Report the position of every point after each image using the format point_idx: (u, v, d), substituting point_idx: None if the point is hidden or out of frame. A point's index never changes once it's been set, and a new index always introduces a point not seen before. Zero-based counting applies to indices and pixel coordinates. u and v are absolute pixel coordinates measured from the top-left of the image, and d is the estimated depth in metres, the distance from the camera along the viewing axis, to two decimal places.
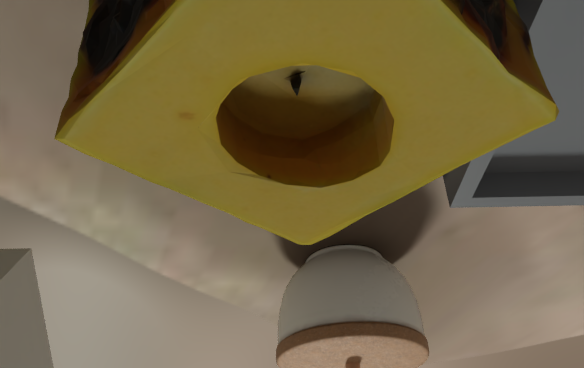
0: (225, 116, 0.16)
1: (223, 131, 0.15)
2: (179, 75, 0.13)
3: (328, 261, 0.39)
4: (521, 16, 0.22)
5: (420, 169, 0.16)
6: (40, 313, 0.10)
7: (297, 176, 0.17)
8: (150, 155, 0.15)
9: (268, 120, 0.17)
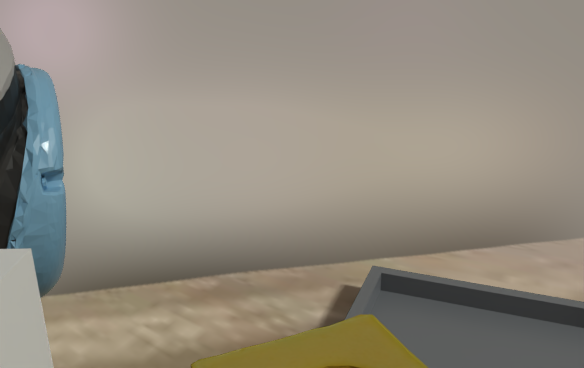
0: None
1: None
2: None
3: None
4: None
5: (401, 360, 0.25)
6: (40, 313, 0.10)
7: None
8: None
9: None
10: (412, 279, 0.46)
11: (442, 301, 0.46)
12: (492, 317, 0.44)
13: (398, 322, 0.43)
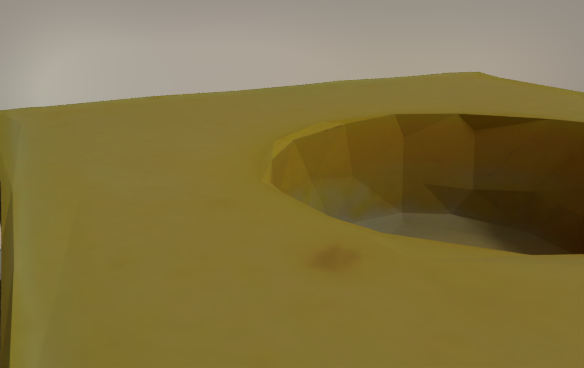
0: None
1: None
2: (167, 223, 0.04)
3: None
4: None
5: None
6: None
7: None
8: None
9: None
10: None
11: None
12: None
13: None
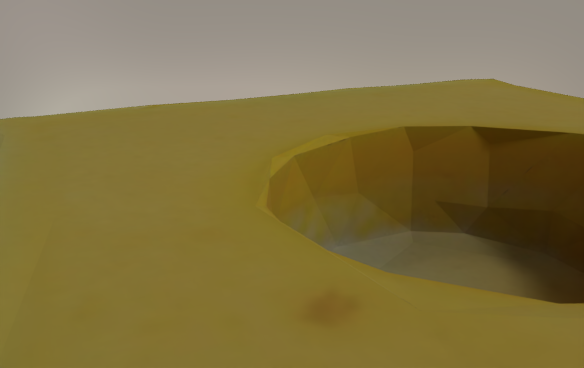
0: None
1: None
2: (143, 260, 0.04)
3: None
4: None
5: None
6: None
7: None
8: None
9: None
10: None
11: None
12: None
13: None
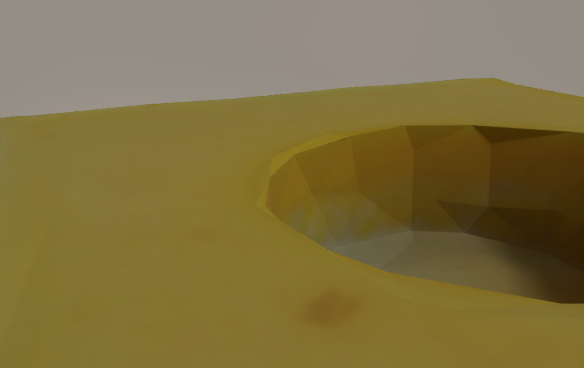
0: None
1: None
2: (141, 260, 0.04)
3: None
4: None
5: None
6: None
7: None
8: None
9: None
10: None
11: None
12: None
13: None
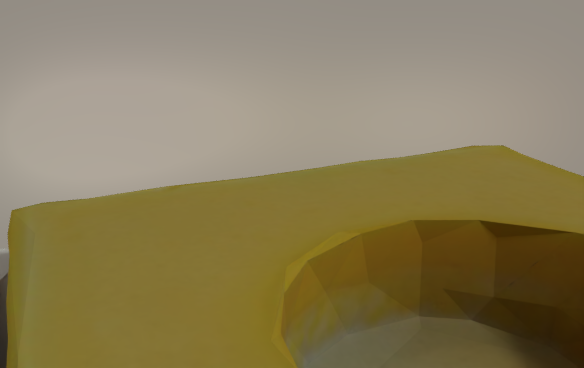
0: None
1: None
2: None
3: None
4: None
5: None
6: None
7: None
8: None
9: None
10: None
11: None
12: None
13: None
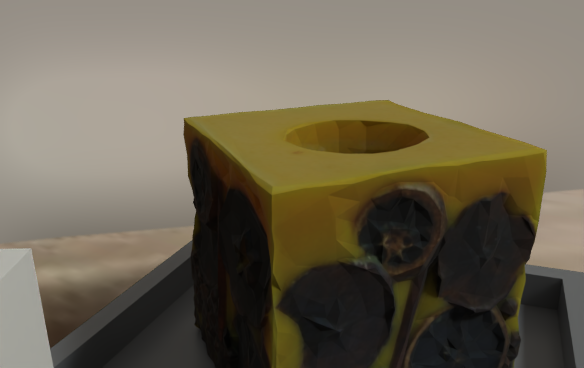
0: None
1: None
2: (258, 147, 0.18)
3: None
4: None
5: (419, 117, 0.22)
6: (40, 313, 0.10)
7: None
8: (330, 168, 0.16)
9: None
10: None
11: None
12: None
13: None
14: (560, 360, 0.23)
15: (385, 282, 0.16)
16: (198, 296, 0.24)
